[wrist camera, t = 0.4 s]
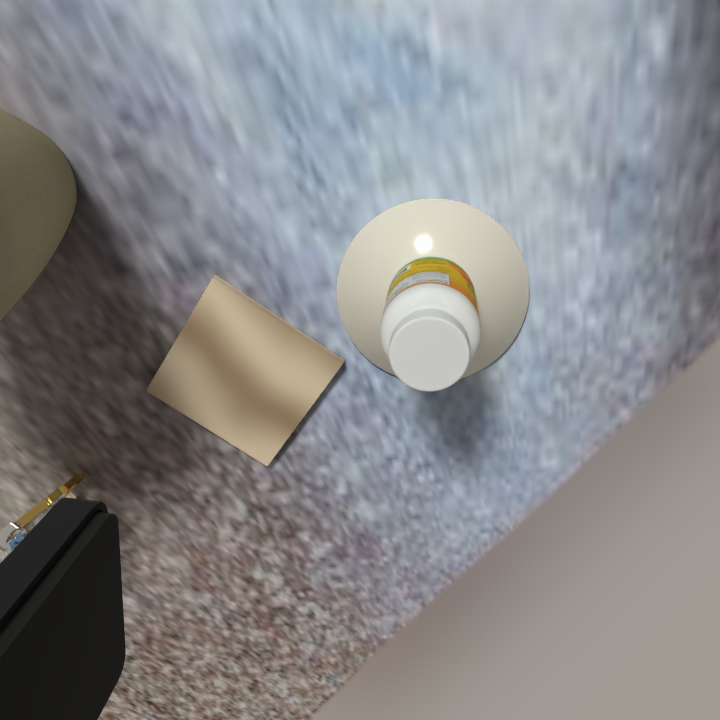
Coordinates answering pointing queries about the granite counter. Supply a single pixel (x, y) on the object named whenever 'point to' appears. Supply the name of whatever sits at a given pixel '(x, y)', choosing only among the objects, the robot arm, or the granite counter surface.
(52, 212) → the plant pot
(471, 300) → the supplement bottle
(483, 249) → the coaster
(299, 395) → the wooden mat
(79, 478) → the ring
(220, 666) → the granite counter surface
